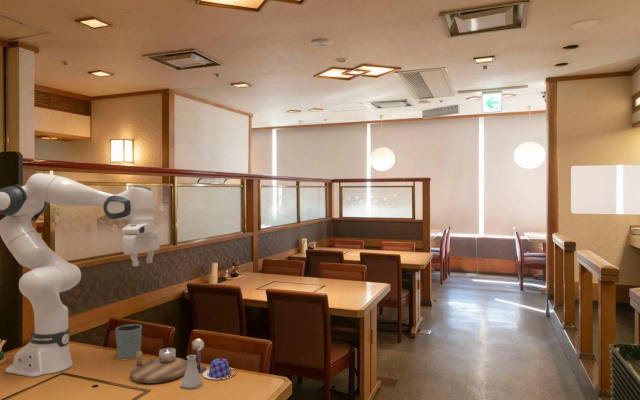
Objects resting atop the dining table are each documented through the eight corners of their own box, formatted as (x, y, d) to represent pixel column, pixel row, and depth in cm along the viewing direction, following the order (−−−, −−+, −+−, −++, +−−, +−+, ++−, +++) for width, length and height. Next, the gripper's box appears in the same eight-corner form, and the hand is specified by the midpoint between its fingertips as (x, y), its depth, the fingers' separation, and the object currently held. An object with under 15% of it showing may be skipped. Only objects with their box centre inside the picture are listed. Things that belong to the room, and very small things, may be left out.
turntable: (118, 381, 155) (118, 361, 155) (148, 361, 175) (148, 343, 175) (172, 384, 152) (172, 364, 153) (196, 363, 172) (196, 345, 172)
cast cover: (156, 363, 167) (156, 351, 167) (163, 357, 173) (163, 346, 173) (171, 364, 166) (171, 352, 166) (178, 358, 172) (178, 346, 172)
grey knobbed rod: (190, 372, 165) (190, 339, 165) (195, 368, 169) (195, 336, 169) (202, 373, 165) (202, 340, 165) (206, 369, 169) (206, 336, 169)
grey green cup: (129, 361, 176) (129, 331, 176) (109, 359, 179) (109, 329, 180) (147, 353, 186) (147, 325, 186) (127, 351, 189) (127, 322, 189)
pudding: (219, 366, 172) (219, 353, 172) (243, 372, 166) (243, 358, 166) (195, 377, 162) (195, 362, 162) (220, 384, 155) (220, 369, 155)
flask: (196, 390, 149) (196, 360, 149) (176, 388, 151) (176, 359, 151) (205, 382, 156) (206, 353, 156) (187, 380, 158) (187, 352, 158)
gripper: (148, 226, 180) (149, 260, 180) (118, 229, 160) (119, 268, 160) (163, 226, 179) (163, 260, 179) (135, 229, 159) (135, 268, 159)
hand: (142, 264), depth 169 cm, fingers open, 8 cm apart
